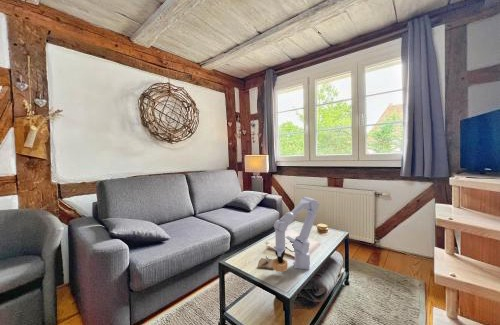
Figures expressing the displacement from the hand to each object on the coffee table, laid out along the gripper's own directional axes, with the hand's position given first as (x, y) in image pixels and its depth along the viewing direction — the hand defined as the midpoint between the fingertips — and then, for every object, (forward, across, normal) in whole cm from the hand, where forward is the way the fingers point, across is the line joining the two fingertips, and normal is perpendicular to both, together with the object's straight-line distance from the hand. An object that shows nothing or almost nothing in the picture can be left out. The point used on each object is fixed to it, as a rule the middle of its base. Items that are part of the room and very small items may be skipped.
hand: (280, 261), depth 128 cm
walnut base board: (+6, -6, -9) cm, 13 cm away
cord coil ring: (+2, +4, 0) cm, 4 cm away
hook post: (+5, -6, -9) cm, 12 cm away
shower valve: (+7, -36, +6) cm, 37 cm away
